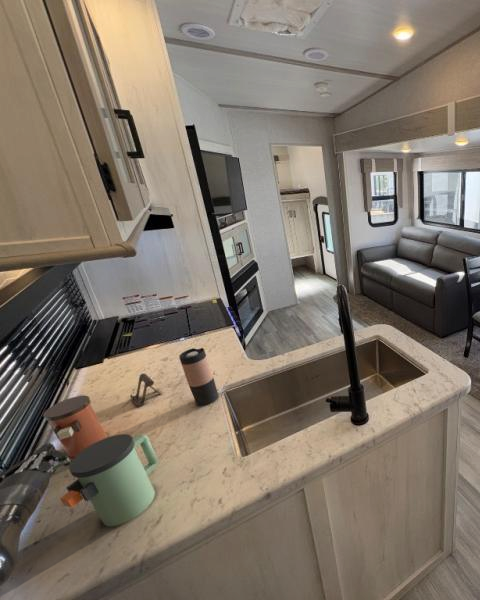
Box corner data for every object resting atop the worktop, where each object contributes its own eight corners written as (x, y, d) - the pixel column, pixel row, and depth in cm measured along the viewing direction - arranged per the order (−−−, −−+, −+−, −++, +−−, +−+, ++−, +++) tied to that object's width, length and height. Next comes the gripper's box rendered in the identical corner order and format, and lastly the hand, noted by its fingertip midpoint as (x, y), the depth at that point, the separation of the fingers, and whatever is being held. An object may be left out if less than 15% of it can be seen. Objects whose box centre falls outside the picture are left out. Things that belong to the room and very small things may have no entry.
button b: (62, 435, 86) (59, 429, 86) (74, 431, 88) (71, 426, 87) (60, 439, 85) (56, 434, 84) (71, 436, 86) (68, 430, 85)
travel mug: (199, 410, 108) (182, 361, 101) (193, 401, 113) (176, 353, 106) (222, 398, 113) (207, 351, 106) (215, 390, 118) (200, 345, 111)
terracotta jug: (75, 436, 99) (54, 397, 94) (114, 424, 104) (96, 386, 99) (59, 467, 88) (34, 425, 83) (103, 451, 93) (82, 410, 87)
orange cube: (75, 496, 66) (71, 489, 65) (83, 498, 65) (79, 491, 64) (63, 505, 64) (59, 498, 63) (72, 507, 63) (67, 500, 63)
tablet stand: (131, 399, 116) (123, 381, 113) (156, 388, 122) (148, 370, 119) (138, 408, 111) (130, 389, 108) (163, 396, 117) (156, 378, 114)
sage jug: (148, 471, 85) (124, 421, 79) (179, 477, 82) (158, 426, 76) (82, 529, 71) (48, 473, 65) (118, 539, 68) (85, 482, 62)
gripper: (50, 472, 66) (77, 424, 80) (-45, 506, 59) (2, 447, 73) (66, 497, 68) (88, 446, 82) (-24, 532, 62) (17, 470, 76)
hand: (47, 446), depth 78 cm, fingers closed
